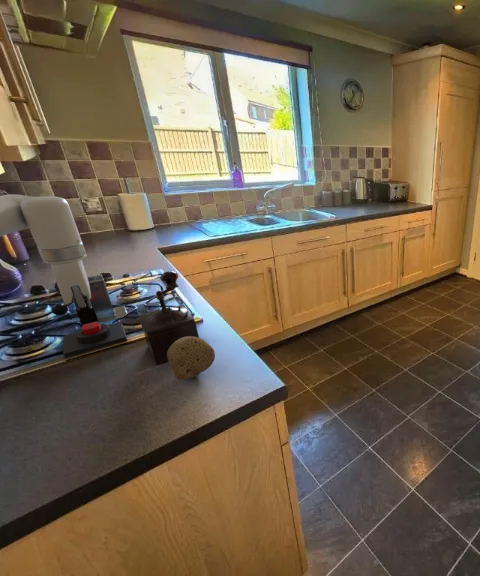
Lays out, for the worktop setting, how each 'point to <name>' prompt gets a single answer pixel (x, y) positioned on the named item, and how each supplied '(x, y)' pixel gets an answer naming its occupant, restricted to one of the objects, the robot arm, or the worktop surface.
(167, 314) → the manual coffee grinder
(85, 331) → the stop button
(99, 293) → the switch bracket
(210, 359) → the natural sponge
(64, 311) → the switch lever
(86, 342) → the control block
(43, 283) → the worktop surface
